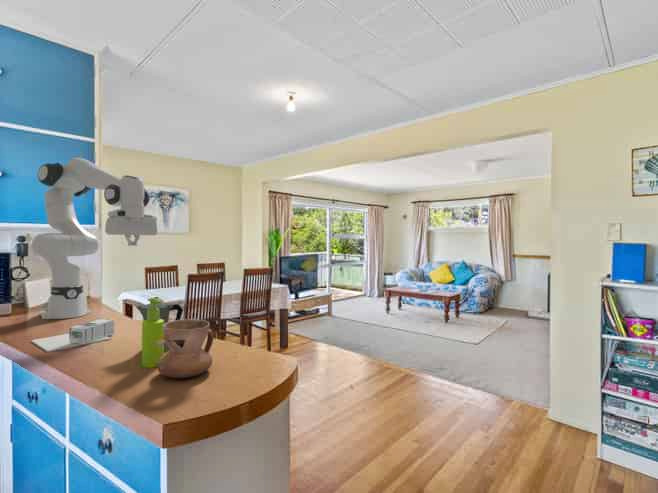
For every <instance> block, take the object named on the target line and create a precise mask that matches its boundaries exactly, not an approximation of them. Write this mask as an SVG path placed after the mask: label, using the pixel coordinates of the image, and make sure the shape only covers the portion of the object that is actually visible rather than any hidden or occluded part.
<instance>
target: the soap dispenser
mask: <svg viewBox="0 0 658 493" xmlns="http://www.w3.org/2000/svg"><path fill="white" fill-rule="evenodd" d="M147 301H148V302H149V304H150V308H149V309H148V310H147V320H145V321H143V320H142V322H141V367H142V368H147V369H149V368H150V369H151V368H152V369H153V368H157V363H158V360H159V359H160V358H161V357H162V356H163V355H164V354H165V352H164V344H163V345H160V346H159V345H158V344H157V343H156V342H157V341H158V340H160V339H162V338H164V334H163V325H164V320H163V319H159V309H158V308H156V302H157V303H164V302H165V300H164V299H162V298H160V297H159V298H155V297H152V298H147Z"/></svg>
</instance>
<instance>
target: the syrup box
mask: <svg viewBox="0 0 658 493" xmlns="http://www.w3.org/2000/svg"><path fill="white" fill-rule="evenodd" d="M68 331H69V333H68V334H69V343H74V344H86V343H89V342H92V341H95V340H98V339H101V338H103V337H106V336H108V337H109V336H111V335H114V334H115V319H114V318H103V317H101V318H98V319H94V320H91V321H88V322H85V323H81V324H78V325H73V326H71V327H69V329H68ZM86 345H87V344H86Z"/></svg>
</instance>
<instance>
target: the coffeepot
mask: <svg viewBox="0 0 658 493" xmlns="http://www.w3.org/2000/svg"><path fill="white" fill-rule="evenodd" d="M154 298H159V299H160V297H158V296H156V297H154ZM135 307H136V308H135V309H137V310H138V311H139V313H140V314H141V316H142V322H143V321H145V320H147V310H148V309H149V308H150V303H148V304H142V305H138V306H135ZM156 308H158V309H159V319H163V320H164V324H165V323H168V322H169V317H170V313H171V311H174V310H176V311H177V312H176V314H175V315H176V316H175V319H174V320H181V318H182V315H183V313H184V309H183V308H182V306H181V305H179V303H177V304H176V303H173V304H171V303H164V302H161V303H157V302H156ZM164 338H165V337H164ZM168 351H170V349H169V347H168V345H167V344H164V353H165V352H166V353H167V352H168Z"/></svg>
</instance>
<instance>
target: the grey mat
mask: <svg viewBox="0 0 658 493" xmlns="http://www.w3.org/2000/svg"><path fill="white" fill-rule="evenodd" d="M109 340H112V337H111V336H110V337H109V336H106V337H103V338H101V339H98V340H95V341H92V342H89V343H86V344H74V343H69V333H64V334H59V335H54V336H49V337H42V338H35V339H32V340H30V341H31V343H32V344H34V345H35V346H38V348H41V350H43V351H45V352H46V353H50V352H56V351H60V350H65V349H70V348H75V347H79V346H80V347H81V346H87V345H89V344H95V343H100V342H105V341H109Z"/></svg>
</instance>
